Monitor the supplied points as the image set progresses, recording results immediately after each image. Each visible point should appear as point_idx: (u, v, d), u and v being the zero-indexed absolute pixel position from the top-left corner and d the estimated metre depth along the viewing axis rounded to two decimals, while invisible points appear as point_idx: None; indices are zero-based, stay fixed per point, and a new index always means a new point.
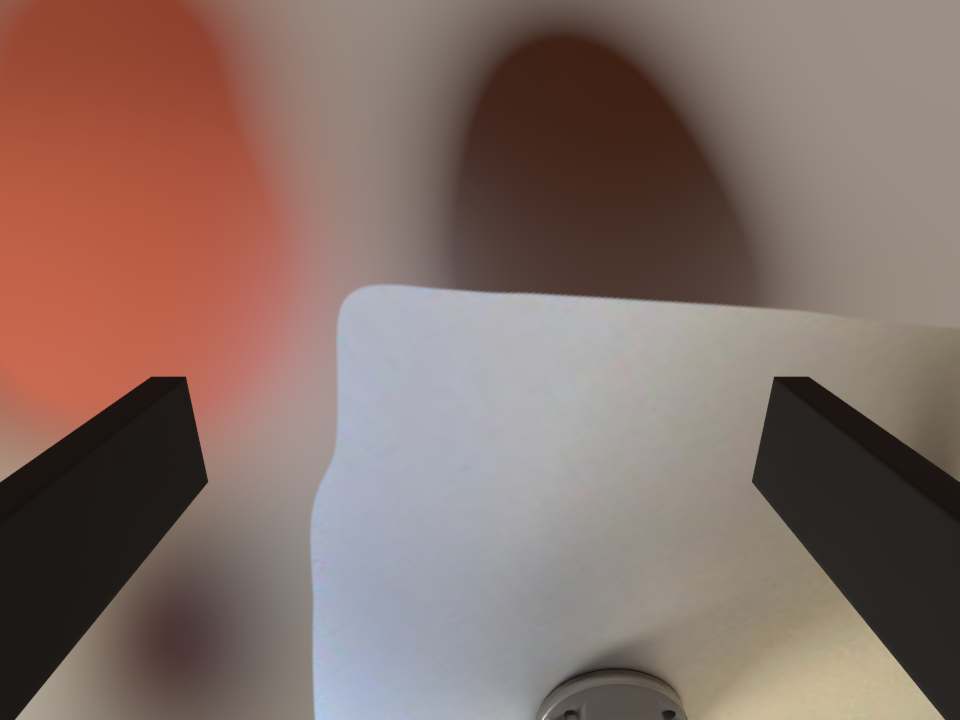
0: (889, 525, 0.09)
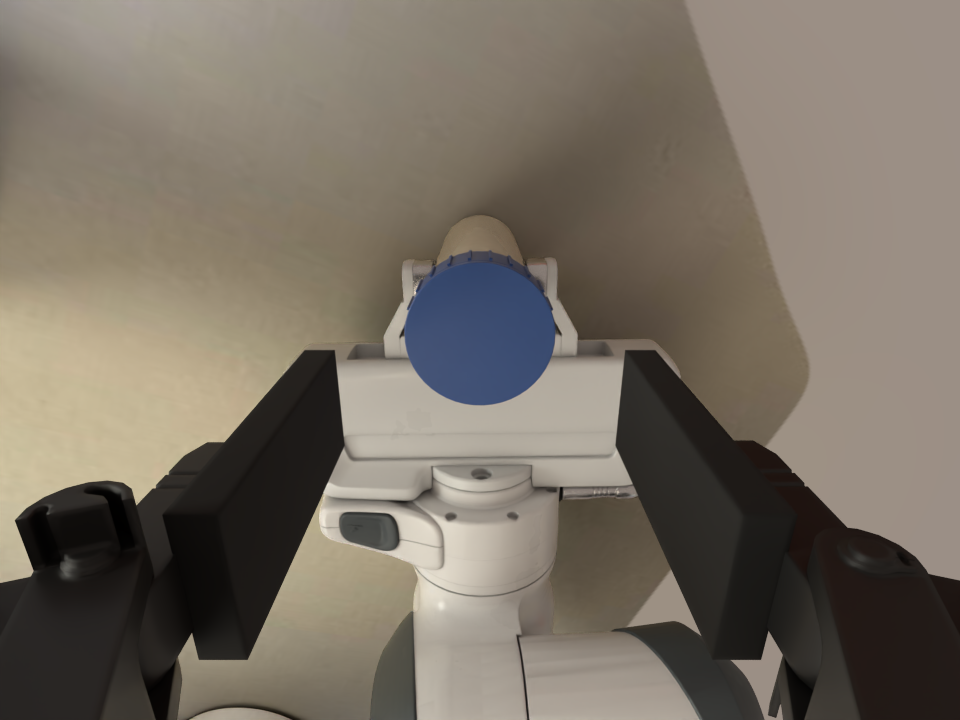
0: (672, 466, 0.10)
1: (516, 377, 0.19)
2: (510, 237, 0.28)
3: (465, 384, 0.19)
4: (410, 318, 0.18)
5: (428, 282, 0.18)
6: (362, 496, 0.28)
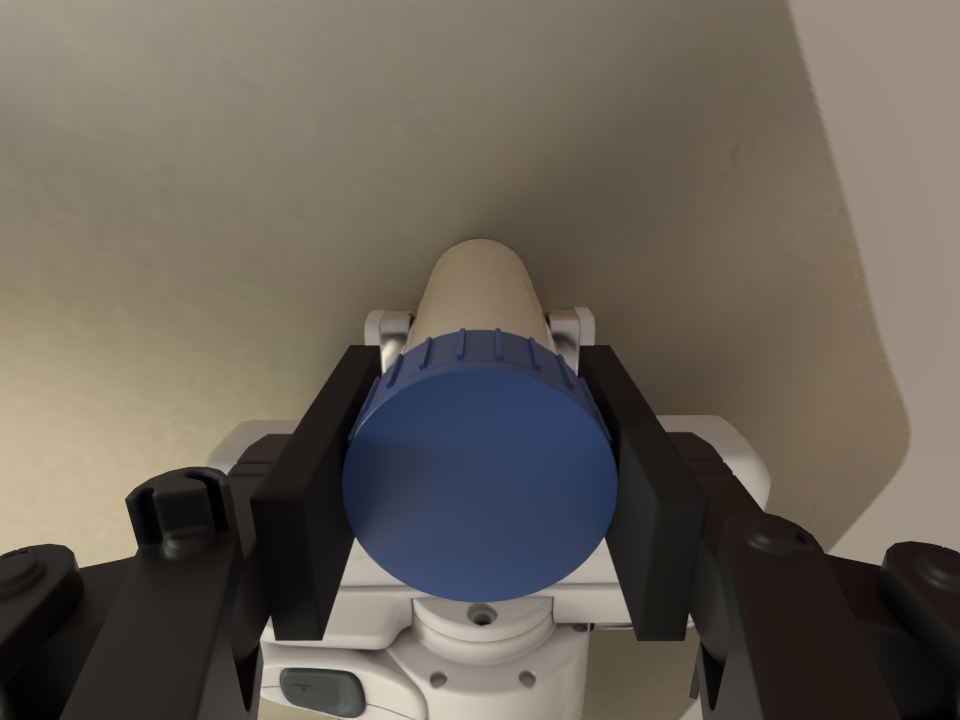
0: None
1: (545, 559, 0.11)
2: (523, 275, 0.20)
3: (454, 570, 0.11)
4: (351, 464, 0.10)
5: (382, 403, 0.09)
6: (312, 644, 0.20)
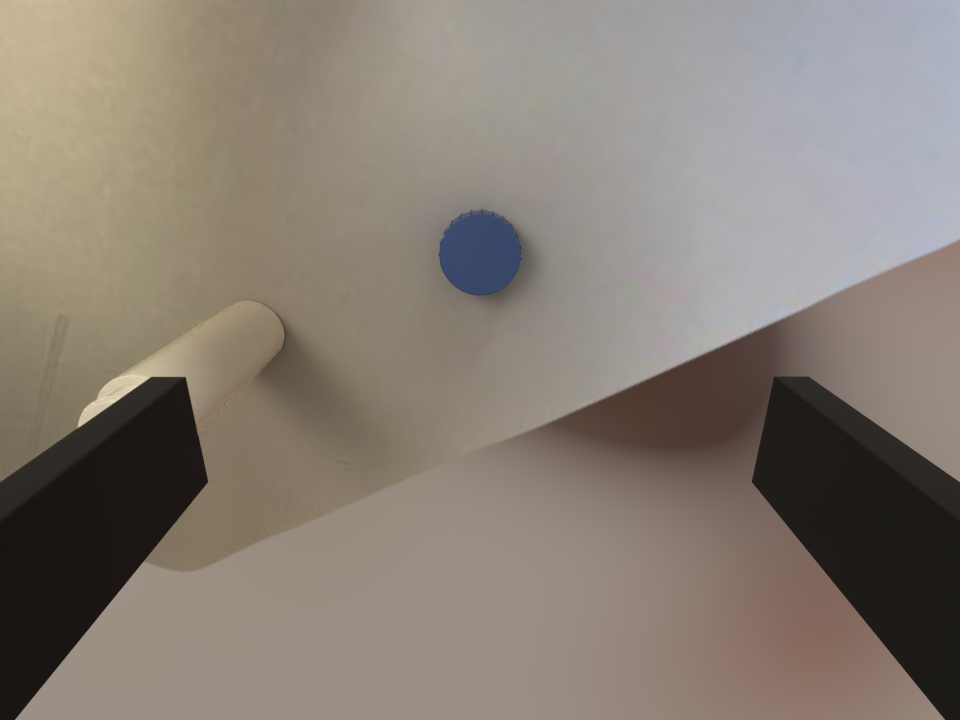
0: (889, 525, 0.09)
1: (457, 276, 0.35)
2: (253, 377, 0.35)
3: (452, 248, 0.34)
4: (490, 217, 0.34)
5: (510, 228, 0.34)
6: None
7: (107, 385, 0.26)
